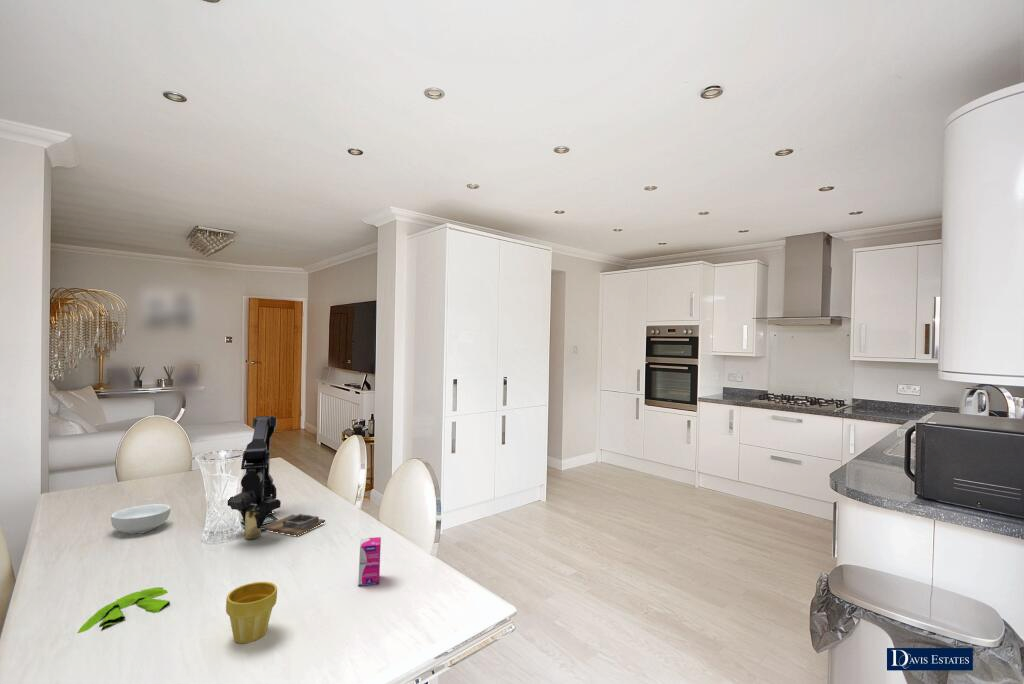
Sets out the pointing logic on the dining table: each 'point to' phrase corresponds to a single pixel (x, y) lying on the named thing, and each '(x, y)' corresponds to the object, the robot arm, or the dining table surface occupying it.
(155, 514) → the cereal bowl
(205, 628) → the dining table surface
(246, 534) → the solid brass cylinder
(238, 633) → the plant pot
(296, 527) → the jig
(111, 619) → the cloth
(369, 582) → the supplement box
